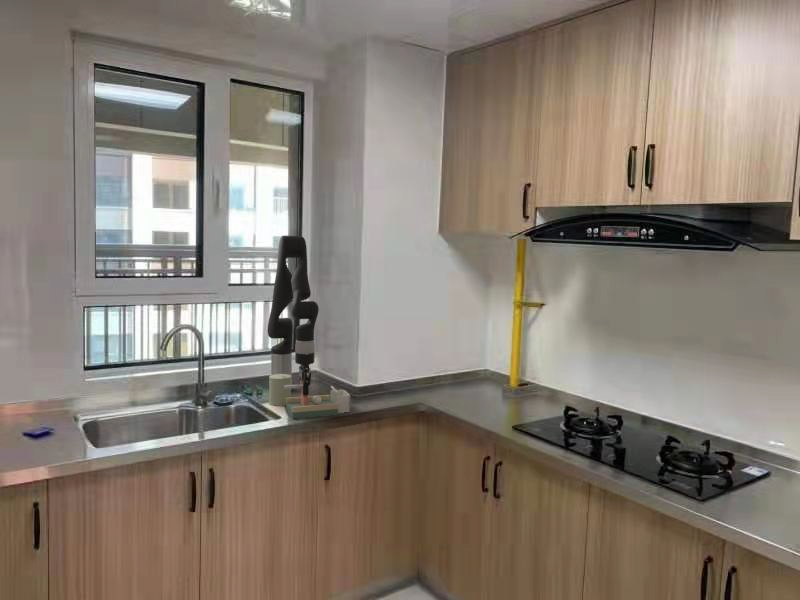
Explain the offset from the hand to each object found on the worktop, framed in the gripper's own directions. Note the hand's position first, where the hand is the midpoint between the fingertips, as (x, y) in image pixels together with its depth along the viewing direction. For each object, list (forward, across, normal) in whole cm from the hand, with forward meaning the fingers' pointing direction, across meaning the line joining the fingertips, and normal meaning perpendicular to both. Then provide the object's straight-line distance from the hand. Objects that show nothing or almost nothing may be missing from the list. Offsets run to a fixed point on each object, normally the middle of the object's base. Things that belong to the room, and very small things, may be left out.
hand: (304, 393), depth 245 cm
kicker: (+5, 0, -2) cm, 5 cm away
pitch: (+8, 0, +3) cm, 8 cm away
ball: (+3, 0, +5) cm, 6 cm away
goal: (+8, 0, +14) cm, 16 cm away
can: (+8, -17, -7) cm, 20 cm away
